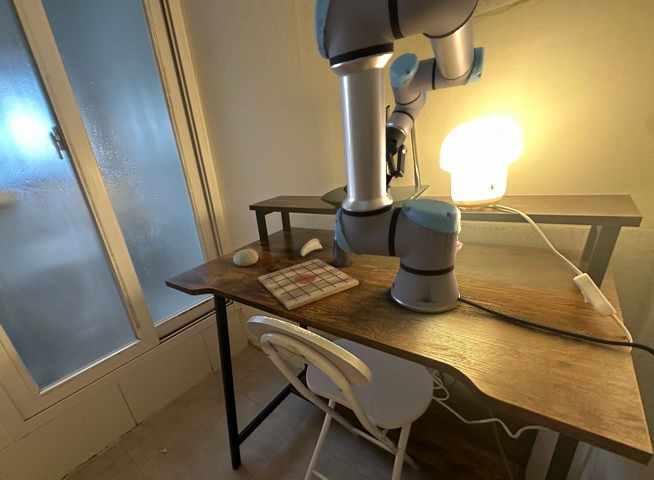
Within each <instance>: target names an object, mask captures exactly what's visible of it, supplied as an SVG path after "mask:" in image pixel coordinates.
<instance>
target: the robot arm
mask: <svg viewBox="0 0 654 480" xmlns="http://www.w3.org/2000/svg"><path fill="white" fill-rule="evenodd" d="M478 4H479V0H315V5H314V14H313V15H314V18H313V26H314V27H313V28H314V38H315V43H316V45H317V50H318V53H319V55H320V56H321V57H322V58H323V59H325V60H329V68H330V71H332V72H333V74H335V75H336V76H337V77H338V81H339V82H338V84H339V85H338V86H339V98H340V99H339V100H340V111H341V126H342V127H341V128H342V140H343V151H344V166H345V177H346V178H345V179H346V181H345V182H346V184H345V186H344V188H343V192H345V194H346V195H347V196H346V198H345V199H344V200H343V201H342V202H341V207H340V208H339V209H338V210H337V212H336V214H335V217H334V221H335V223H334V227H333V228H334V234H335V236H336V240H337V242H338V244H339V246H340V248H341V249H342V250H344V251H345V252H348V253H350V254H355V255H358V256H362V255H364V256H365V255H366V256H377V257H378V256H380V257H391V258H399V267H398V270H397V273H396V275H395V278H394V280H393V283H392V284H391V289H390V298H391V300H392V301H393V302H394V303H395V304H396V305H397V306H399V307H401V308H403V309H405V310H409V311H412V312H417V313H423V314H439V313H443V312H444V313H445V312H447V311H450V310H453V309H454V308H456V307H457V306H458V305H459V302H461V303H464V304H466V305H469V306H471V307H474V308H476V309H478V310H480V311H483V312H486V313H488V314H491V315H494V316H497V317H499V318H502V319H505V320H509V321H512V322H516V323H519V324H523V325H526V326H530V327H535V328H536V329H537V328H538V329H542V330H545V331H548V332H553V333H556V334H559V335H564V336H568V337H572V338H577V339H580V340H585V341H588V342H594V343H598V344H603V345H608V346H618V347H628V348H635V349H640V350H643V351H646V352H648V353H650V354H651V355H652V356H654V348H652V347H650V346H648V345H645V344H641V343H638V342H629V341H619V340H609V339H603V338H598V337H595V336H589V335H585V334H581V333H580V334H579V333H576V332H572V331H569V330H564V329H559V328H557V327H556V328H555V327H551V326H547V325H544V324H539V323H535V322H532V321H528V320H526V319H522V318H517V317H515V316H511V315H508V314H505V313H502V312H498V311H495V310H493V309H490V308H487V307H485V306H483V305H480V304H477V303H475V302H473V301H470V300H468V299H464V298H462V297H461V294H460V288H459V285H458V280H457V277H456V273H455V266H456V259H457V252H458V251H457V243H458V241H459V233H460V232H461V229H462V228H461V218H462V217H461V216H462V215H461V211H460V209H459V208H458V206H456V205H455V204H452V203H450V202H448V201H444V200H438V199H431V198H417V199H415V198H411V199H407V200H405V201H404V202H402V204H401V206H394V198H393V196H392V195H390V194H389V193H388V190H389V189H390V188H392V186H393V184H394V183H395V180H397V179H398V178H403V177H405V169H406V168H405V167H406V155H407V153H408V149H407V147H406V146H405V144H404V143H405V141H406V138H407V137H408V135H409V133H410V131H411V130H412V127H413V126H414V125H415V122H416V120H417V119H418V116H419V115H420V113H421V111H422V109H423V108H424V106H425V105H426V103H427V99H428V98H429V94H430V92H431V91H436V90H443V89H447V88H454V87H459V86H466V85H470V84H474V83H477V82H478V81H480V80H481V78H482V75H483V69H484V63H485V62H484V61H485V53H486V52H485V48H484V47H483V46H478V47H475V46H474V45H475V44H474V41H475V40H474V13H476V12H475V11H476V9H477V7H478ZM419 34H422V35H423V36H424V37H426V38H427V39H429V43H430V46H431V49H432V52H433V55H434V56H433V57H429V58H427V59H425V58H424V59H421V60H420V59H419V57H418V55H417V54H416V53H411V52H405V53H403V54H401V55H399V56H397V57H396V58H395V59H394V60H393V61H392V63H391V65H390V66H389V70H388V71H389V73H388V74H389V78H390V79H389V84H390V86H391V90H392V95H393V98H394V103H395V105H394V107H393V110H392V112H391V114H390V116H389V118H388V119H387V121H386V66H387V64H388V63H389V61H390V60H391V58H392V57H393V55H394V52H395V51H394V49H395V45H394V44H395V41H398V40H401V39H404V38H406V37H410V36H414V35H419ZM412 120H413V121H412ZM395 156H397V157H396V164H395V158H394V157H395ZM387 166H388V171H389V172H388V173H387V170H386V169H387V168H386V167H387ZM456 251H457V252H456Z"/></svg>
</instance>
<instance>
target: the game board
mask: <svg viewBox="0 0 654 480" xmlns="http://www.w3.org/2000/svg"><path fill="white" fill-rule="evenodd" d="M257 278H258V281H259V282H260V283H261V284H262V285H263V286H264V287H265V289H267V290H268V292H270V293H271V294H272V295H273V296H274V297H275V298H276V299H277V300H278V301H280V303H281V304H282V305H283V306H285V308H286V309H287V310H288V311H291V310H294V309H297V308H300V307H302V306H306V305H308V304H310V303H313V302H316V301H319V300H321V299H324V298H326V297H330V296H332V295H334V294H337V293H340V292H343V291H345V290H348V289H351V288H354V287H356V286H357V287H358V286H359V285H360V283H359V280H357V279H355V278H354V277H352V276H351V275H348V274H347V273H344V272H343V271H342V270H339V269H337V268H336V267H334V266H332V265H330V264H329V263H326V262H324V261H323V260H321V259H320V258H314V259H311V260H308V261H304V262H302V263H299V264H296V265H291V266H289V267H286V268H283V269H279V270H277V271H273V272H270V273H267V274H263V275H261V276H258V277H257Z"/></svg>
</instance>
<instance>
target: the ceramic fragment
mask: <svg viewBox="0 0 654 480" xmlns="http://www.w3.org/2000/svg"><path fill="white" fill-rule="evenodd" d="M314 251H323V246H322V245H321V243H320V240H319V239H318V238H312V239H310V240H309V241H308V242H306V243H305V244H304V245H303V246H302V247H301V249H300V252H299V254H300V255H301V256H302V258H305V257H306V256H307V255H308V254H309V253H312V252H314Z"/></svg>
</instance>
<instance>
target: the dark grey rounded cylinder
mask: <svg viewBox="0 0 654 480" xmlns="http://www.w3.org/2000/svg"><path fill="white" fill-rule="evenodd" d="M332 254H333V265H334V266H335V267H338V268H344V267H345V268H346V267H348V266H350V264H351V253H348V252H345V251H344V250H342V249H341V248H340V246H339V244H338V242H337V240H336V236H335V233H334V234H333V235H332Z"/></svg>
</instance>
